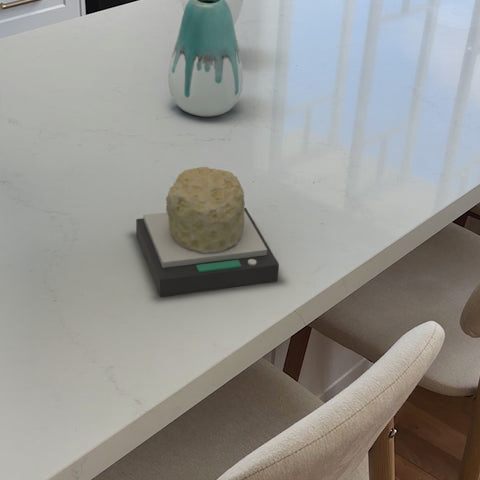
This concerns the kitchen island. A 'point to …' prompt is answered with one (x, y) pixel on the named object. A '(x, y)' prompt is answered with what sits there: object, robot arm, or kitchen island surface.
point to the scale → (203, 259)
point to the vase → (206, 60)
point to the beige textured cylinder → (206, 209)
